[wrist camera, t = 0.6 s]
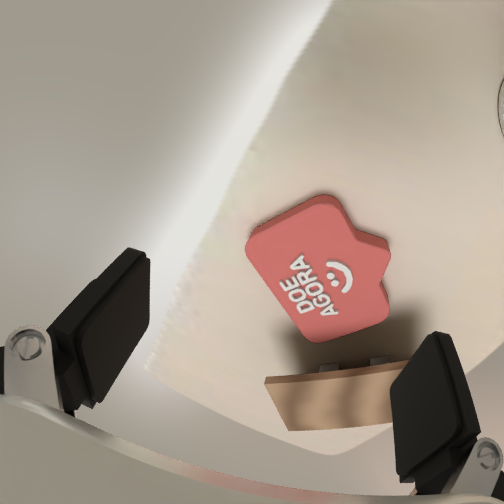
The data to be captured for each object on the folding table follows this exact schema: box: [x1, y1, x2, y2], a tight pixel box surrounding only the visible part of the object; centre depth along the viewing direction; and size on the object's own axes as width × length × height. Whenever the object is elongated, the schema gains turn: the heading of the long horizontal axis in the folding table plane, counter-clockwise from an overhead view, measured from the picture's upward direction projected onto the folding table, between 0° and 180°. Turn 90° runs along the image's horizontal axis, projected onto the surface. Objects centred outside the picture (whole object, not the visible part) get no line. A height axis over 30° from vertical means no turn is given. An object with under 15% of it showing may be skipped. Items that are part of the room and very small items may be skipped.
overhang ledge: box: [264, 355, 409, 431], centre depth 41 cm, size 20×12×10 cm, turn 109°
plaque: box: [245, 195, 391, 343], centre depth 38 cm, size 18×4×15 cm
